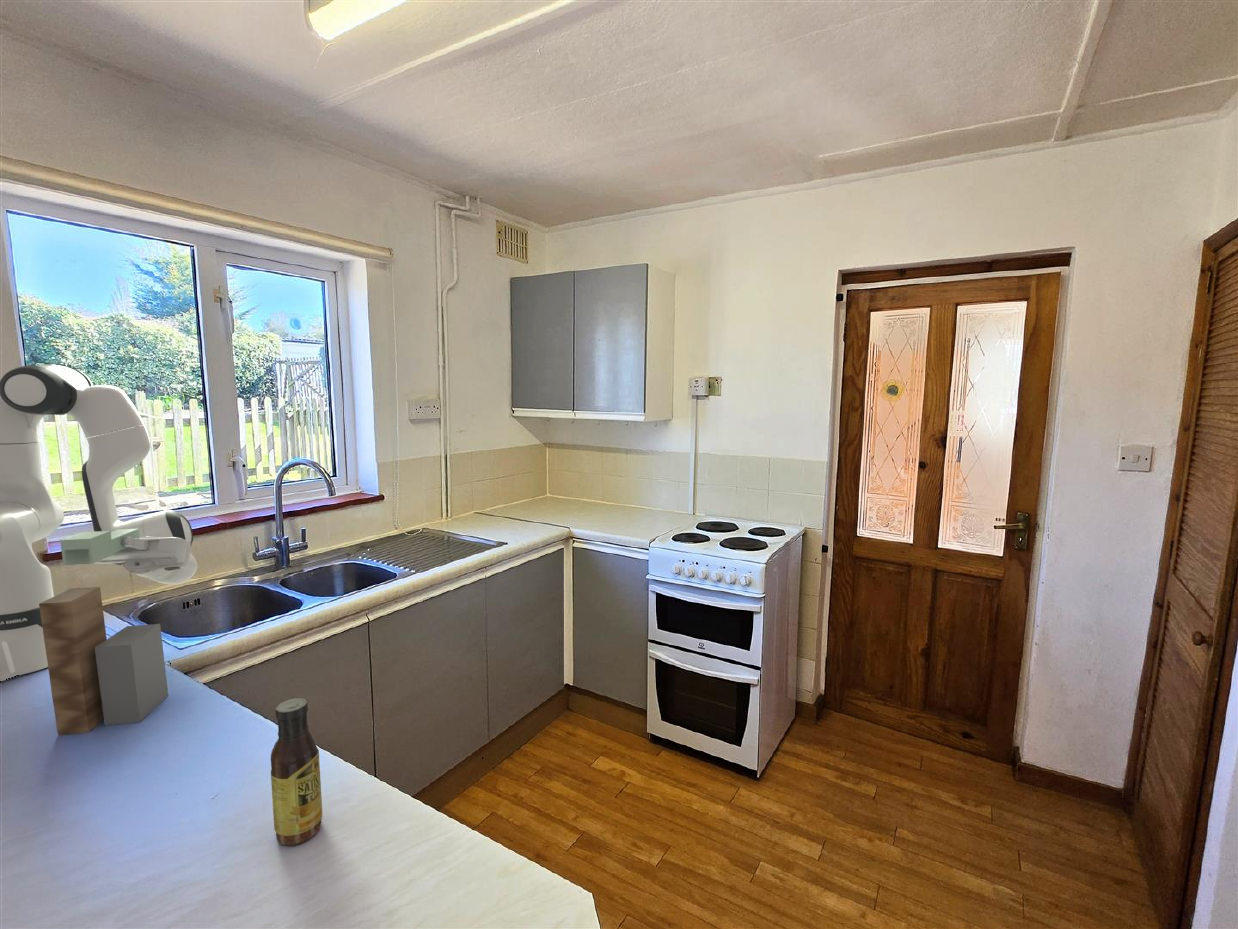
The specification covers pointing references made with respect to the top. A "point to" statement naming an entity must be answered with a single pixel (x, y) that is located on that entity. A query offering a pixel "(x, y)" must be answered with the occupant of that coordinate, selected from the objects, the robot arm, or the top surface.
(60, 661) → the walnut stand
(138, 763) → the top surface
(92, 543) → the green handle
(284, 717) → the sauce bottle
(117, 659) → the gray block
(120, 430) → the robot arm
